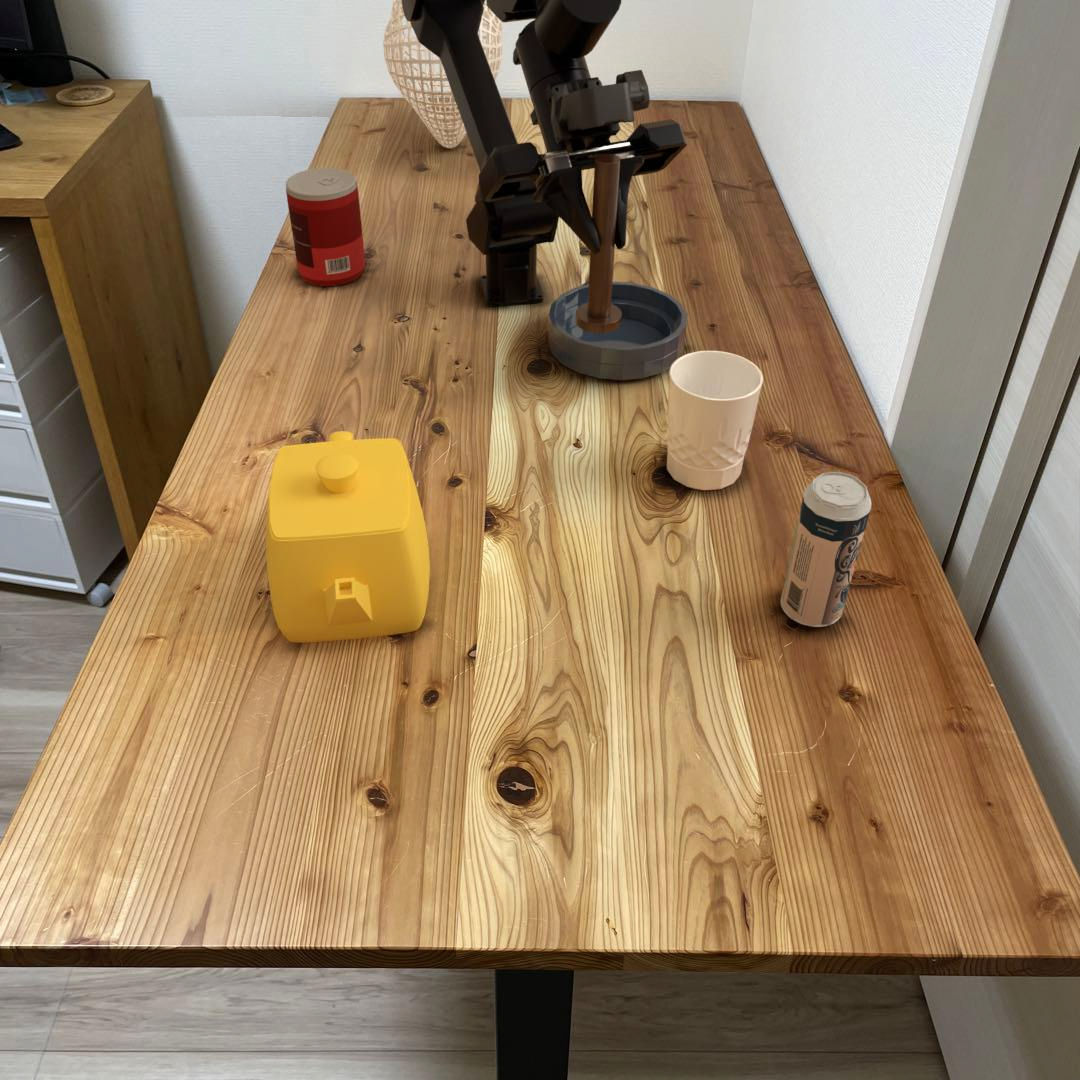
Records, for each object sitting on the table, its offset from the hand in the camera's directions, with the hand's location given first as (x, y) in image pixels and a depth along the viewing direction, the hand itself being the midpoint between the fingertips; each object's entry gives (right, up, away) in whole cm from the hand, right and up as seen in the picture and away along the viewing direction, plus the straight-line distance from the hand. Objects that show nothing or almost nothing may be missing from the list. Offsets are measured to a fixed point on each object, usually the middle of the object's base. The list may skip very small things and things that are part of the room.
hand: (609, 250), depth 97 cm
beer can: (+15, -32, -13) cm, 38 cm away
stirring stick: (-1, -5, +6) cm, 8 cm away
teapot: (-21, -30, -12) cm, 39 cm away
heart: (-19, +31, +59) cm, 69 cm away
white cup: (+9, -20, 0) cm, 22 cm away
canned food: (-31, +5, +29) cm, 42 cm away
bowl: (+2, -6, +16) cm, 17 cm away
